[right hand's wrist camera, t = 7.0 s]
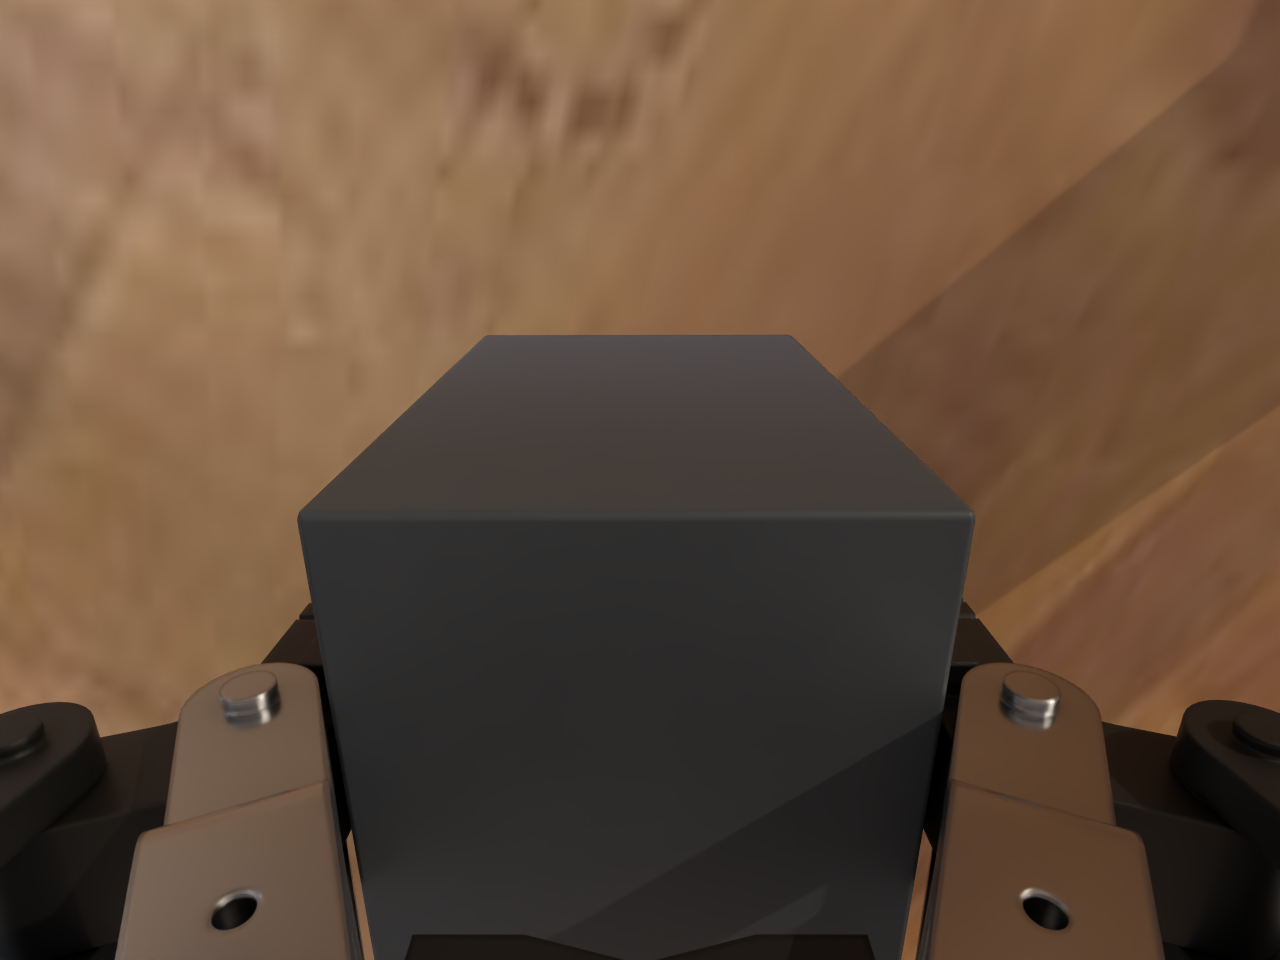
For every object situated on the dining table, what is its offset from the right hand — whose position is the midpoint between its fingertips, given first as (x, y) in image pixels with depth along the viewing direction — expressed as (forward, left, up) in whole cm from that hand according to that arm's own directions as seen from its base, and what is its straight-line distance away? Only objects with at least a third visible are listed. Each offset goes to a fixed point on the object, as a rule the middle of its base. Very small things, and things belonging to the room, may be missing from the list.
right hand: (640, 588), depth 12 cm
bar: (+9, +2, -4) cm, 10 cm away
